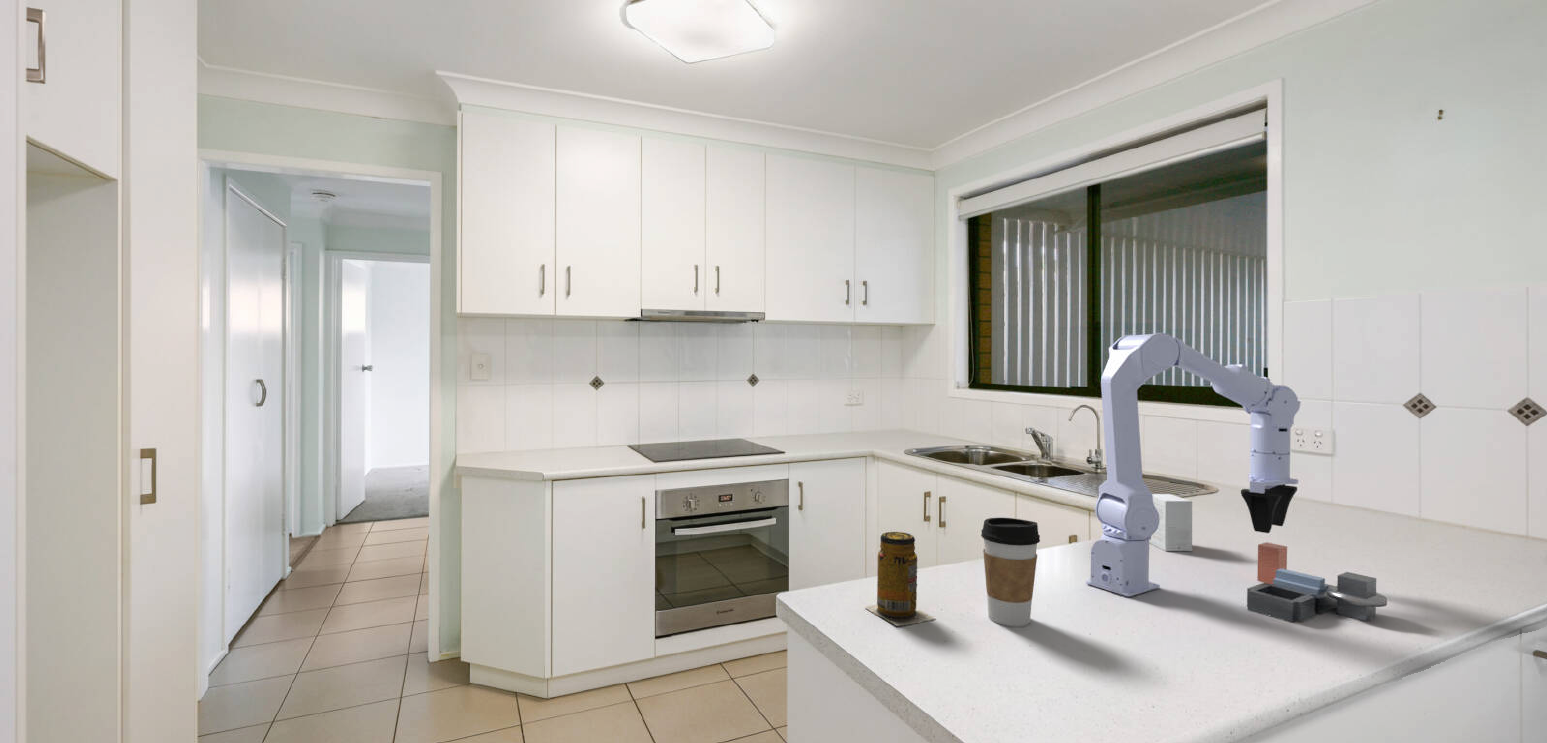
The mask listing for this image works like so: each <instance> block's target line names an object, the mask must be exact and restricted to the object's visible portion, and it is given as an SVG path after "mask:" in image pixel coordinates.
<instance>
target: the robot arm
mask: <svg viewBox="0 0 1547 743" xmlns="http://www.w3.org/2000/svg"><path fill="white" fill-rule="evenodd" d="M1108 357H1109V358H1108V360H1107V363H1106V365H1105V368H1104V370H1103V372H1102V375H1101V377H1100V378H1101V380H1100V388H1101V390H1100V391H1101V402H1102V403H1101V406H1102V417H1103V418H1102V419H1103V420H1102V421H1103V433H1104V434H1103V435H1104V447H1105V463H1106V477H1107V479H1106V480H1105V481H1103V483H1101V484H1100V485H1099V486H1098V498H1097V500H1096V503H1095V507H1094V513H1095V517H1096V518H1097V519H1098V521H1099V523H1101V530H1102V533H1101V534H1102V535H1101V538H1100V539H1099V540H1096V541H1095V542H1094V543H1093V544H1092V546H1091V550H1090V578H1089V579H1087V580H1086V581H1085V584H1087V585H1089V586H1093V587H1097V588H1100V589H1103V590H1106V591H1109V592H1112V593H1114V594H1118V595H1121V596H1125V597H1132V596H1137V595H1139V594H1142V593H1146V592H1149V591H1153V590H1156V589H1159V588H1160V587H1161V584H1158V583H1155V582H1152V581H1149V578H1150V573H1149V572H1150V571H1149V569H1150V543H1149V540H1151V536H1152V535H1153V534H1154V533H1155V532H1156V530H1157V528H1158V526H1159V521H1160V518H1159V513H1158V511H1157V509H1156V508H1155V506H1154V503H1153V495H1152V494H1153V493H1152V492H1151V490H1150V488H1148V486H1147V485H1146V483H1145V482H1144V480H1143V477H1144V476H1143V466H1142V464H1143V463H1142V450H1141V449H1142V448H1141V438H1140V437H1141V434H1140V420H1139V419H1140V418H1139V404H1138V403H1139V402H1138V389H1139V388H1140V387H1141V386H1143V385H1144V384H1145V383H1146V382H1147V381H1148V380H1149V379H1150V378H1151V379H1152V378H1153V377H1155V376H1157V375H1159V374H1161V373H1162V372H1163V373H1164V372H1165V371H1167V370H1168V369H1170V368H1171V367H1176V368H1179V369H1180V370H1183V371H1186V372H1188V373H1190V374H1192V375H1194V376H1196V377H1199V378H1201V379H1204V380H1205V381H1208V382H1209V383H1211V384H1212V385H1211V386H1212V389H1213V391H1214V392H1215V393H1216V394H1218V395H1220V396H1223V397H1224V398H1227V399H1229V400H1230V401H1232V402H1234V403H1237V404H1238V405H1241V406H1242V408H1243V410H1244V411H1245V412H1246V413H1247V414H1248V415H1250V434H1249V435H1250V436H1249V437H1250V443H1249V444H1250V450H1249V474H1248V481H1249V488H1243V489H1241V490H1240V494H1241V497H1242V498H1243V500H1244V502H1245V503H1246V507H1248V512H1249V515H1250V519H1251V524H1252V527H1253V530H1254V531H1255V532H1257V533H1264V534H1269V533H1271V530H1272V527H1273V526H1277V527H1283V526H1284V523H1285V520H1286V516H1287V513H1288V510H1289V506H1290V503H1291V501H1292V499H1293V498H1294V496H1295V494H1296V492H1297V491H1298V487H1297V486H1295V485H1298V484H1299V479H1297V478H1291V476H1290V475H1291V429H1292V427H1293V425H1294V420H1295V416H1296V414H1297V413H1298V412H1299V411H1300V407H1301V402H1302V401H1300V400H1299V399H1298V396H1297V394H1296V393H1295V391H1294V389H1292V388H1291V387H1289V386H1287V385H1281V384H1280V385H1279V384H1276V385H1275V384H1273V382H1271V379H1270V378H1269V377H1266V376H1259V375H1257V374H1255V373H1253V372H1251V371H1250V370H1249V366H1247V365H1245V364H1241V363H1240V364H1239V363H1237V364H1234V363H1233V364H1232V363H1231V364H1227V365H1222V364H1221V363H1219V362H1217V361H1216V360H1214V359H1212V358H1210V357H1209V356H1207V355H1205V354H1203V353H1201V352H1200V351H1198V350H1196V349H1195V348H1193V347H1191V346H1190V345H1188V344H1186V343H1185V342H1184V340H1182V339H1181V338H1177V337H1174V336H1172V335H1170V334H1168V333H1166V332H1156V333H1151V334H1150V333H1149V334H1125V335H1123V336H1121V337H1119V338H1118V339H1117V340H1116V341H1115V342H1114V343H1113V344H1112V345H1110V346H1109V347H1108Z"/></svg>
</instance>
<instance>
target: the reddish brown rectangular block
mask: <svg viewBox="0 0 1547 743" xmlns="http://www.w3.org/2000/svg"><path fill="white" fill-rule="evenodd" d="M1287 565H1288V546H1286V545H1281V544H1276V543H1272V542H1263V543H1259V544H1257V578H1256V579H1257V582H1261V583H1268V584H1269V583H1270V584H1273V579H1275V578H1276V570H1278V569H1281V568H1282V569H1286V570H1288V566H1287Z"/></svg>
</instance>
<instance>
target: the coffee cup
mask: <svg viewBox="0 0 1547 743" xmlns="http://www.w3.org/2000/svg"><path fill="white" fill-rule="evenodd" d="M980 536H981V538H982V539H983V544H984V546H983V547H984V548H983V549H982V550H983V562H984V565H983V566H984V576H985V586H986V589H985V590H986V594H987V595H986V596H987V612H988V618H989V619H990V620H991V621H992V622H995V623H996V624H998V625H1001V626H1005V627H1006V626H1008V627H1024V626H1027V625H1029V624H1030V622H1031V613H1032V601H1033V597H1034V595H1033V594H1034V585H1035V578H1036V570H1037V569H1036V568H1037V560H1038V554H1037V546H1038V544H1039V543H1040V542H1041V539H1040V538H1041V536H1040V534H1039V527H1038V522H1036V521H1032V520H1028V519H1027V520H1026V519H1021V518H1013V517H990V518H986V519H984V521H983V525H982V529H981V535H980Z"/></svg>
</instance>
